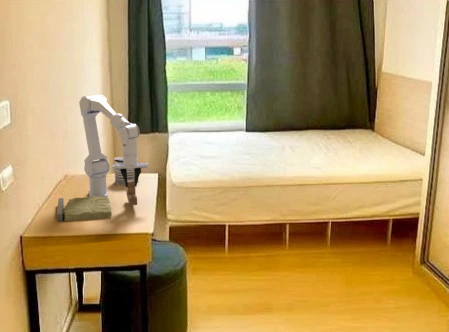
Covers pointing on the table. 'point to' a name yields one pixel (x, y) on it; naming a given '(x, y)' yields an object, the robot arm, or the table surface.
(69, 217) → the decorative tile
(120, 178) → the can
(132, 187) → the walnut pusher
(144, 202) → the table surface
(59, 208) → the stop rail
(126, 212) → the table surface
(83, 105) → the robot arm
